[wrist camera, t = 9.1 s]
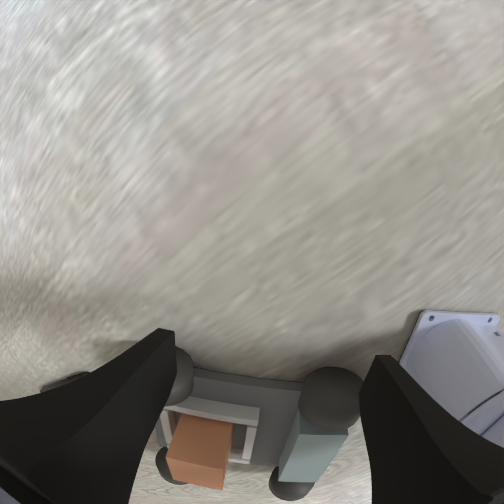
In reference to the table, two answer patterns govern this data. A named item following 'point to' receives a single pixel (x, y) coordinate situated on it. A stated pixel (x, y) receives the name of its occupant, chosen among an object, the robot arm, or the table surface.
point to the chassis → (267, 420)
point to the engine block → (200, 451)
